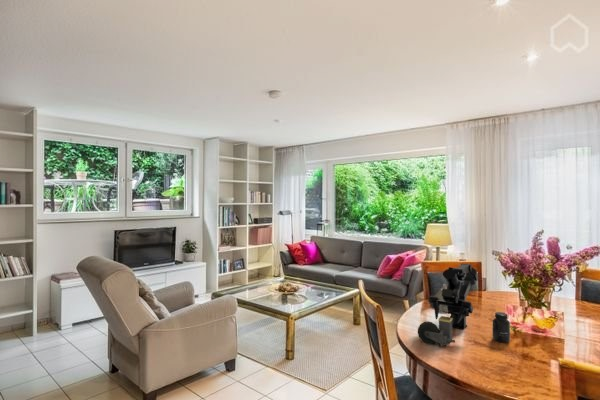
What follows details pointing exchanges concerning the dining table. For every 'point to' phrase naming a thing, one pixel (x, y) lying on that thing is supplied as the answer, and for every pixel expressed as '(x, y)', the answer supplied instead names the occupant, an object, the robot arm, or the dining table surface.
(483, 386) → the dining table surface
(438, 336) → the caster wheel
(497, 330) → the supplement bottle
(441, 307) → the ceramic cottage
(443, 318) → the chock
